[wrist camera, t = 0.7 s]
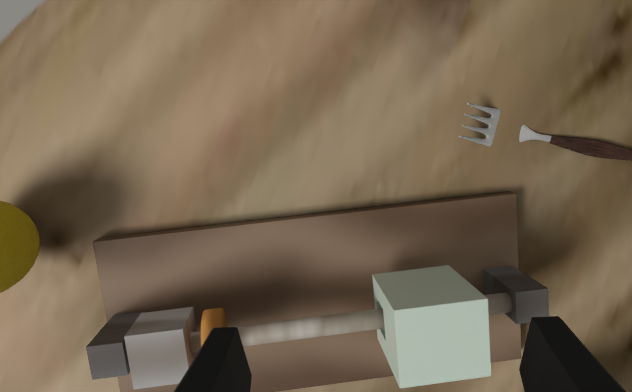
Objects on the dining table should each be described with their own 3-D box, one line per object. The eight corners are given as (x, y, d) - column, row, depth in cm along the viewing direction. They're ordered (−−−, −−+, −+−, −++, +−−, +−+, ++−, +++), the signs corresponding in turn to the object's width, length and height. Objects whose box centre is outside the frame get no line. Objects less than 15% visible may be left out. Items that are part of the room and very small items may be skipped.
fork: (658, 180, 34) (681, 184, 32) (447, 138, 32) (458, 140, 30) (669, 144, 33) (694, 146, 31) (456, 100, 32) (468, 99, 30)
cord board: (514, 351, 35) (565, 402, 28) (128, 403, 33) (93, 468, 27) (509, 191, 33) (563, 208, 26) (98, 238, 31) (53, 267, 25)
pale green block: (452, 328, 31) (490, 375, 25) (377, 338, 31) (399, 388, 25) (448, 265, 30) (487, 298, 25) (372, 274, 30) (393, 310, 24)
